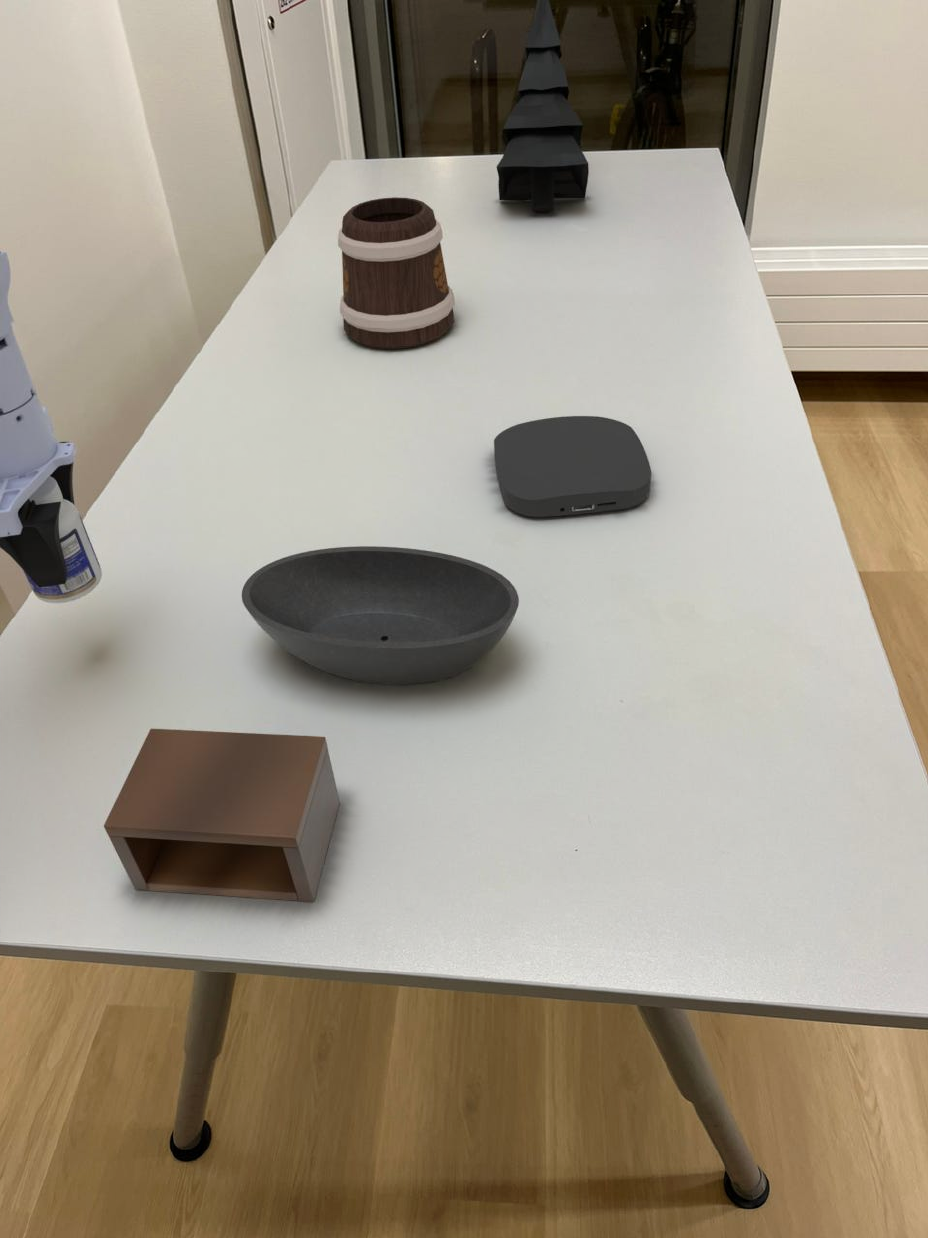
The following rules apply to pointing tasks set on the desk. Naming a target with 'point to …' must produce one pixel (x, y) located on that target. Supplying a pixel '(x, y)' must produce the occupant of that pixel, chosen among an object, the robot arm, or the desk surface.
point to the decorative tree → (542, 127)
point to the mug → (394, 274)
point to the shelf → (226, 814)
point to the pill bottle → (68, 550)
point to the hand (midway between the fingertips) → (58, 560)
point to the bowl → (382, 611)
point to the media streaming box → (571, 466)
